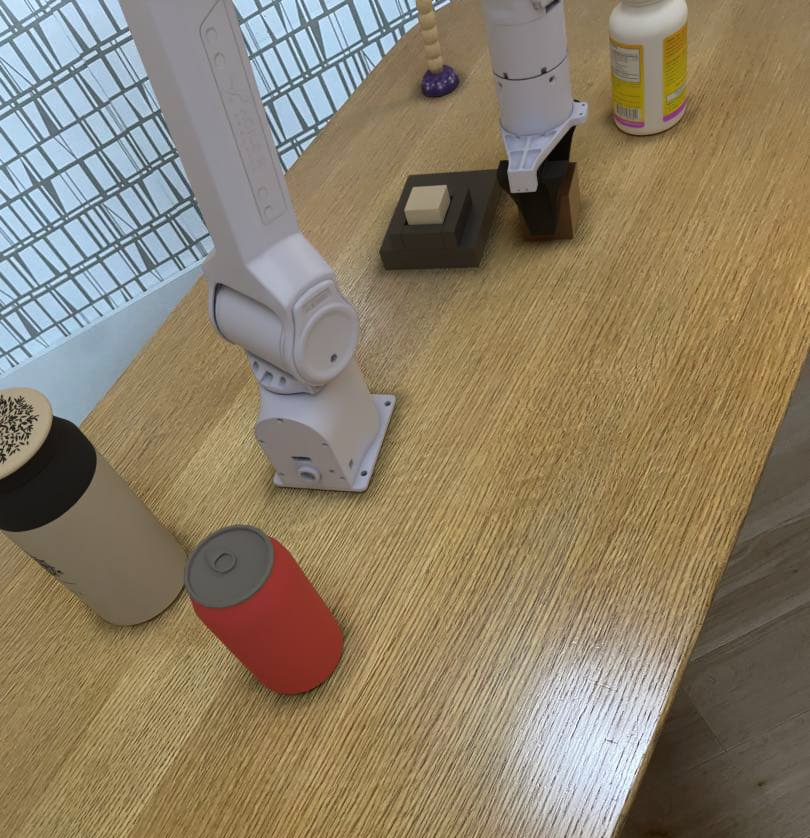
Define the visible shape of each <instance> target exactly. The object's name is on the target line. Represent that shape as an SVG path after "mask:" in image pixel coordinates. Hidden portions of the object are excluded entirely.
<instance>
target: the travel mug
mask: <svg viewBox="0 0 810 838" xmlns="http://www.w3.org/2000/svg"><path fill="white" fill-rule="evenodd" d="M0 532H1V533H2V534H3V535H4V536H5V537H6V538H8V539H9V540H10V541H11V542H13V544H15V545H16V546H17V547H18V548H20V549H21V550H22V551H23V552H24V553H25V554H26V555H28V556H29V557H30V558H31V559H32V560H33V561H34V562H36V563H37V564H38V565H40V567H41V568H43V569H44V570H45V571H47V573H48V574H49V575H51V576H52V577H54V578H55V579H56V580H57V581H58V582H59V583H61V584H62V585H63V586H64V587H65V588H66V589H67V590H68V591H70V592H71V593H72V594H73V595H75V596H76V597H77V598H78V599H79V600H80V601H82V602H83V603H84V604H85V605H86V606H87V607H89V608H90V610H92V611H93V612H94V613H96V614H97V615H98V616H99V617H100V618H101V619H103V620H104V621H106V622H107V623H109V624H112V625H116V626H133V625H134V626H135V625H138V624H142V623H145V622H147V621H149V620H151V619H154V618H155V617H157V616H158V615H160V614H161V613H162V612H164V611H165V610H166V609H167V608H168V607H169V606H170V605H172V603H173V602H174V601H175V599H176V598H177V597H178V595H179V594H180V592H181V591H182V590H183V587H184V586H185V585H184V582H183V580H184V568H185V565H186V563H187V560H188V556H187V553H186V551H185V549H184V547H183V546H182V545H181V544H180V542H178V540H177V539H176V538H175V536H173V534H172V533H171V532H170V531H169V530H168V529H167V528H166V527H165V525H164V524H163V523H162V522H161V521H160V520H159V519H158V518H157V516H156V514H154V513H153V511H152V510H150V508H149V507H148V506H147V505H146V504H145V503H144V501H143V500H142V499H141V498H140V497H139V495H138V494H137V493H136V492H135V491H134V490H133V488H131V486H130V485H129V484H128V482H126V481H125V479H124V478H123V477H122V476H121V475H120V474H119V472H118V471H117V470H116V469H115V468H114V466H112V464H110V462H109V461H108V460H107V459H106V458H105V456H104V455H103V454H102V453H101V452H100V451H99V449H97V448H96V446H95V445H94V444H93V443H92V442H91V441H90V439H89V438H88V437H87V436H86V435H85V434H84V433H83V431H82V430H81V429H80V428H79V427H78V426H77V425H76V424H75V423H73V422H72V421H71V420H69V419H66V418H62V417H60V416H57V415H54V414H53V407H52V404H51V402H50V400H49V399H48V397H47V396H46V395H45V394H44V393H42V392H41V391H39V390H37V389H34V388H30V387H23V386H18V387H17V386H15V387H9V388H4V389H0Z"/></svg>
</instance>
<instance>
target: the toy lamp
mask: <svg viewBox="0 0 810 838" xmlns="http://www.w3.org/2000/svg"><path fill="white" fill-rule="evenodd" d="M414 1H415V7H416V10H417V12H418V23H419V27H421V30H420V31H421V32H420V33H421V39H422V41H423V42H424V49H423V50H424V53H425V56H426V57H427V59H426V60H427V61H426V65H427V70H426V71H424V74H423V75H422V79H421V84H420V88H421V92H422V94H423V95H425V96H427V97H435V98H437V97H442V96H444V95H448V94H449V93H451V92H453V91H454V90H456V88H458V86H459V83H460V78H459V76H458V73H457V71H456V70H455V69H454V68H453V67H452V66H450V65H447V64H444V59H443V56H442V54H441V52H442V49H441V44H440V41H439V39H438V38H439V30H438V27H437V26H436V14H435V12H434V9H433V0H414Z"/></svg>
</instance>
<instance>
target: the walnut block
mask: <svg viewBox="0 0 810 838" xmlns="http://www.w3.org/2000/svg"><path fill="white" fill-rule="evenodd" d="M581 205H582V203H581V193H580V181H579V171H578V162H577V161H569V163H568V167H567V171H566V174H565V177H564V180H563V182H562V184H561V186H560V191H559V204H558V221H557V226H556V231H555V234H554V235H537V236H533V235H532V234H531V233H530V231H529V229H528V227H527V225H526V223H525V220H524V218H523V216H522V214H521V212H520V210H519V208H518V206H517V205H516V206H517V212H518V219H519V224H520V231H521V238H522V242H533V241H534V242H535V241H537V242H538V241H560V240H574V238H575V233H576V230H577V224H578V220H579V216H580V211H581V207H582V206H581Z"/></svg>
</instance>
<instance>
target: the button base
mask: <svg viewBox="0 0 810 838" xmlns="http://www.w3.org/2000/svg"><path fill="white" fill-rule="evenodd" d="M497 169H498V168H489V169H477V170H461V171H448V172H432V173H420V174H409V175H408V176H407V178H406V181H405V183H404V186H403V189H402V191H401V194H400V195H399V199H398V201H397V203H396V206H395V208H394V211H393V214H392V217H391V219H390V222H389V224H388V227H387V228H386V229H387V230H386V232H385V235H384V237H383V240H382V243H381V245H380V248H379V251H378V253H379V256H380V259H381V262H382V264H383V268H384V271H404V270H405V271H407V270H438V269H439V270H441V269H471V268H479V267H480V264H481V261H482V257H483V254H484V250H485V247H486V244H487V241H488V238H489V235H490V232H491V227H492V224H493V221H494V217H495V214H496V210H497V209H498V204H499V201H500V198H501V194H502V190H503V189H502V188H501V187H500V186H499V184H498V181H497V175H496V172H497ZM439 185H447V189H448V193H449V197H450V205H449V208H448V210H447V213H446V216H445V219H444V222H443V223H442V224H422V225H408V222H407V218H406V215H405V211H404V209H405V207H406V204H407V202H408V199H409V196H410V194H411V191H412V188H413V187H424V186H439Z"/></svg>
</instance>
